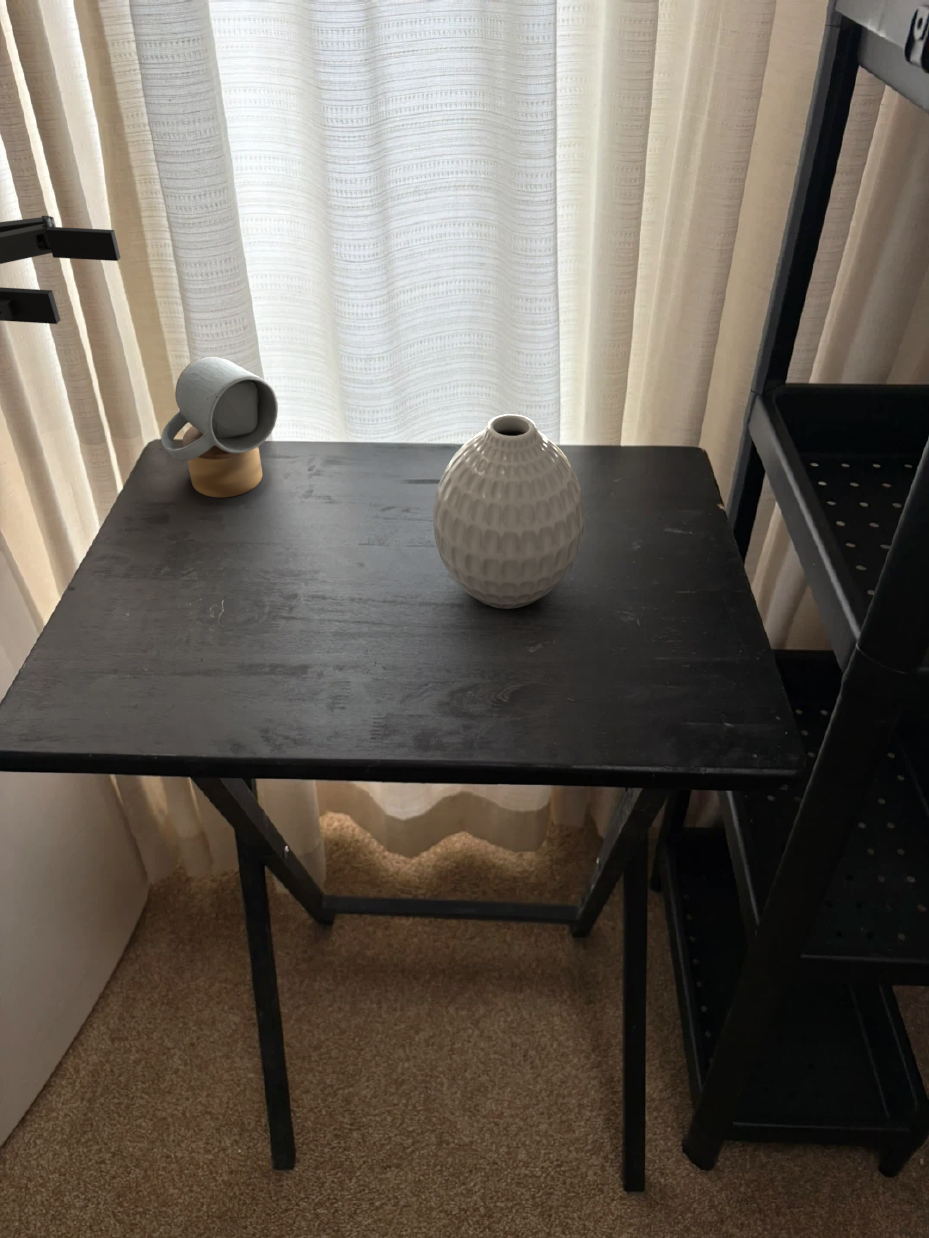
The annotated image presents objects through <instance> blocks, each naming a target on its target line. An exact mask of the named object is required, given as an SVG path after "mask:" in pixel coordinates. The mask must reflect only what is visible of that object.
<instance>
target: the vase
mask: <svg viewBox="0 0 929 1238" xmlns="http://www.w3.org/2000/svg"><path fill="white" fill-rule="evenodd" d="M434 497H435V498H434V502H433V503H434V504H433V511H432V517H433V520H432V521H433V535H434V540H435V545H436V547H437V550H438V553H439V556H440V559H441V562H442V563H443V564H444V567H445V568H446V569H447V571H448V573H449V574H450V575H451V577H452V579H453V580H454V581H455V582H456V583H457V584H458V585H459V587H460V588H461V589H462V590H463V591H464V592H465V593H467V594H468V595H469V596H471V597H473V599H475V600H477V601H479V602H481V603H482V604H485V605H487V606H489V607H491V608H496V609H502V610H514V609H518V608H523V607H525V606H529V605H530V604H532V603H534V602H536V601H538V600H539V599H542V598H543V597H545V596H546V595H547V594H549V593H550V592H551V591H552V590H554V588H555V587H556V586H557V585H559V583H560V582H561V581H562V580H563V579H564V578H565V576H566V575H567V573H568V572H569V571H570V570H571V567H572V566H573V564H574V562H575V561H576V558H577V555H578V554H579V552H580V549H581V548H580V547H581V544H582V538H583V534H584V527H585V504H584V496H583V492H582V489H581V485H580V482H579V479H578V476H577V475H576V472H575V470H574V468H573V466H572V465H571V463H570V461H569V460H568V458H567V456H566V455H565V453H564V452H563V451H562V450H561V448H559V446H558V445H556V443H554V442H553V441H552V440H551V439H550V438H549V437H548V436H546V435H545V434H544V433H542V432H540V431H539V430H538V427H537V425H536V424H535V422H534V421H533V420H532V419H530V418H528V417H526V416H523V415H520V414H511V413H509V414H502V415H498V416H495V417H493V418H492V419H490V420H489V421H488V423H487V424H486V426H485V428H484V429H483V430H481V431H479V432H478V433H477V434H475V435H474V436H472V437H471V438H469V440H467V441H466V442H465V443H464V444H463V445H462V446H461V447H460V448H459V449H458V450H457V451H456V453H455V454H454V455H453V456H452V458H451V460H450V461H449V462H448V464H447V465H446V468H445V469H444V471H443V473H442V476H441V478H440V480H439V483H438V485H437V489H436V491H435V496H434Z"/></svg>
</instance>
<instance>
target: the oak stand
mask: <svg viewBox="0 0 929 1238" xmlns="http://www.w3.org/2000/svg"><path fill="white" fill-rule="evenodd" d="M202 436H203V434H202V433H201V432H200V431H199V430H198V429H196V428H195V427H193V426H192V425H191V426H190V427H189V428H188V429H187V430H186V431H185V433H184V434H183V437H182V443H183V447H185V446H187V445H189V444H191V443H193V442H194V441H196V440H198V439H199V438H201V437H202ZM186 462H187V463H186V464H187V468H188V471H189V477H190V480H191V484H192V487H193V488H194V489H195V491H197V492H198V493H200V494H201V495H204V496H207V497H212V498H231V497H236V496H240V495H243V494H245V493H247V492H250V491H251V490H253V489H255V487H257V486H258V485H259V484H260V482H261V481H262V478H263V468H262V461H261V454H260V448H259V446H258V447H257V448H255V449H253V450H251V451H248V452H244V453H229V452H226V451H224V450H222V449H220V448H219V447H217V446H213V447H212V448H211V449H209V450H208V451H206V452H205V453H203V454H202V455H200V456H199V457H197V458H194V459H191V460H186Z"/></svg>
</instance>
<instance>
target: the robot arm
mask: <svg viewBox="0 0 929 1238" xmlns="http://www.w3.org/2000/svg"><path fill="white" fill-rule="evenodd" d="M50 254H52V258H54V259H73V260H89V261H90V260H92V261H107V262H108V261H109V262H111V261H112V262H119V260H120V259H121V254H120V249H119V245H118V241H117V236H116V231H115V229H105V228H104V229H103V228H85V227H64V226H56V222H55V218H54V217H53V216H51V215H50V216H49V215H41V217H40V216H39V217H33V218H23V219H14V220H7V221H0V265H2V264H7V263H11V262H16V261H21V260H26V259H30V258H35V257H40V256H44V255H50ZM53 291H54V290H52V289H37V288H18V287H4V286H3V287H0V322H15V323H32V324H48V325H57V324H59V322H61V317H60V313H59V309H58V306H57V302H56V299H55V295H54V292H53Z"/></svg>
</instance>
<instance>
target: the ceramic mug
mask: <svg viewBox="0 0 929 1238" xmlns="http://www.w3.org/2000/svg"><path fill="white" fill-rule="evenodd" d="M174 394H175V395H174V396H175V403H176V405H177V407H178V412H177V413H176V414H175V415H173V417H172V418H171V419H170V420H169V421H168V422H167V423H166V425H165V426H164V427H163V429H162V432H161V436H160V440H161V445H162V446H163V448H164V450H165V451H166V452H167V453H168V454H169V455H170V456H171V457H172V458H173V459H174V460H176V461H181V462H187V460H191V459H194V458H197V457H199V456H200V455H202V454H203V453H205V452H206V451H208V450H209V449H211V448H212V447H213V446H217V447H219V448H220V449H222V450H224V451H226V452H229V453H244V452H248V451H251V450H253V449H255V448H257V447H258V448H259V446H261V445H262V444H263V443H264V442H265V441H266V440H268V438H269V437H270V436H271V434H272V433H273V430H274V428H275V426H276V423H277V419H278V413H279V403H278V398H277V395H276V393H275V390H274V389H273V387H272V386H271V384H269V382H268V381H267V380H265V379H264V378H262V377H260V376H258V375H256V374H254V373H253V372H250V371H249V370H247V369H245V368H244V367H241V366H239V365H238V364H236V363H235V362H232V361H230V360H228V359H225V358H222V357H216V356H203V357H200V358H197V359H194V360H193V361H192V362H191V363H189V364H188V365H187V366H185V368H183V370H182V371H181V373H180V375H179V376H178V379H177V381H176V385H175V393H174ZM188 423H189V424H190V425H191V427H192V426H193V427H195V428H196V429H198V430H199V431H200V432H201V433H202V434H203V436H202V437H201V438H199V439H198V440H196V441H194V442H193V443H191V444H189V445H187V446H185V447H184V446H182V447H177V448H175V443H174V440H175V438H176V436H177V435H178V434H179V432H180V431H181V430H182V429H183V428H184V427H185V426H186V425H187V424H188Z"/></svg>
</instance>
